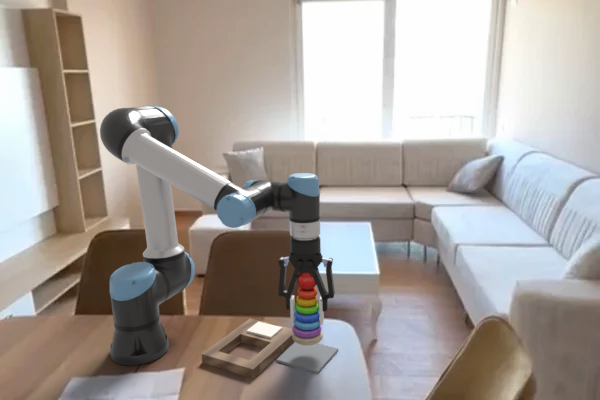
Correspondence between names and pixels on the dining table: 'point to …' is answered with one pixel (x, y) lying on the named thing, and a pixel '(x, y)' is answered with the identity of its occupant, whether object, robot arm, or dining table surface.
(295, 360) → the gray square plate
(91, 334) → the dining table surface
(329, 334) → the dining table surface
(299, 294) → the stacking toy
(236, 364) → the walnut puzzle board
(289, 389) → the dining table surface
